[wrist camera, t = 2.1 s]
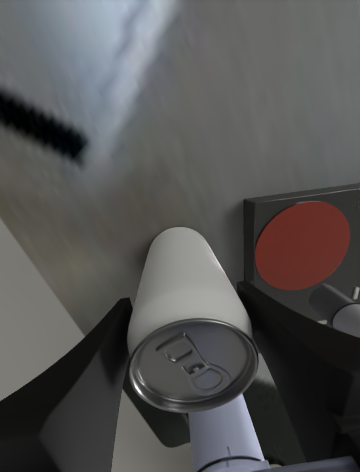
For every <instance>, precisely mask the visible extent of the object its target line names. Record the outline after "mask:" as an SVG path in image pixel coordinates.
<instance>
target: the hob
mask: <svg viewBox="0 0 360 472" xmlns="http://www.w3.org/2000/svg"><path fill="white" fill-rule="evenodd" d="M306 201H320V202H325V203H328V204H331V205H333V206H335V207H336V208H338V209H339V210H340V211H341V212H342V213H343V214H344V216H345V217H346V219H347V221H348V224H349V228H350V241H349V246H348V249H347V252H346V254H345V256H344V258H343V260H342V261H341V263H340V264H339V266H338V267H337V268H336V269H335V270H334V271H333V272H332V273H331V274H330V275H329V276H328V277H327V278H325V279H324V280H322V281H321V282H319V283H317V284H315V285H313V286H311V287H308V288H305V289H300V290H282V289H278V288H275V287H273V286H271V285H270V284H268V283H267V282H266V281H265V280H264V279H263V278H262V277H261V276H260V274H259V273H258V271H257V268H256V265H255V259H254V253H255V247H256V243H257V240H258V237H259V235H260V233H261V232H262V230H263V229H264V227H265V226H266V225H267V223H268V222H269V221H270V220H271V219H272V218H273V217H274V216H275V215H277V214H278V213H279V212H281V211H282V210H284V209H286V208H287V207H290V206H292V205H294V204H297V203H301V202H306ZM244 281H247V282H249V283H250V284H252V285H253V286H255V287H256V288H258V289H259V290H261V291H262V292H264V293H265V294H267V295H268V296H270V297H271V298H273V299H275V300H276V301H278V302H279V303H281V304H283V305H285V306H286V307H288V308H290V309H292V310H294V311H296V312H298V313H300V314H302V315H304V316H306V317H308V318H310V319H312V320H314V321H317V322H319V323H321V324H324V325H326V326H329V327H331V328H334V327H333V319H334V317H335V315H336V314H337V313H338V312H339V311H340V310H341V309H342V308H344V307H346V306H348V305H352V304H360V183H358V184H351V185H343V186H336V187H329V188H321V189H314V190H307V191H299V192H292V193H285V194H277V195H270V196H263V197H255V198H248V199H244ZM252 342H253V343H254V345H255V347H256V350H257V353H260V351H259V349H258V347H257V345H256V344H255V342H254V340H253V338H252Z"/></svg>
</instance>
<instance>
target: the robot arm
mask: <svg viewBox="0 0 360 472" xmlns="http://www.w3.org/2000/svg"><path fill="white" fill-rule="evenodd" d="M237 295H238V297H239V298H240V300H241V302H242V304H243V306H244V308H245V310H246V312H247V314H248V316H249V319H250V322H251V327H252V338H253V340H254V342H255V344H256V345H257V347H258V349H259V351H260V353H261V354H262V356H263V358H264V360H265V362H266V364H267V366H268V369H269V371H270V373H271V376H272V378H273V380H274V382H275V385H276V387H277V389H278V392H279V394H280V396H281V399H282V401H283V403H284V406H285V408H286V411H287V413H288V416H289V418H290V421H291V423H292V426H293V428H294V431H295V433H296V436H297V438H298V441H299V444H300V446H301V449H302V451H303V454H304V457H305V459H306V462H307V463H301V464H295V465H289V466H282V467H276V468H270V466H269V463H268V461H267V460H264V457H263V454H262V451H261V448H260V445H259V442H258V439H257V436H256V433H255V430H254V427H253V424H252V421H251V418H250V415H249V412H248V410H247V407H246V404H245V401H244V398H243V395H242V394H241V395H239V396H238V397H237V398H235V399H234V400H232V401H230V402H229V403H227V404H225V405H222V406H220V407H217V408H214V409H211V410H207V411H202V412H195V413H188V415H189V427H190V440H191V452H192V465H193V472H360V338H359V337H356V336H353V335H350V334H347V333H344V332H342V331H339V330H336V329H334V328H331V327H329V326H326V325H324V324H321V323H319V322H317V321H314V320H312V319H310V318H308V317H306V316H304V315H302V314H300V313H298V312H296V311H294V310H292V309H290V308H288V307H286V306H285V305H283V304H281V303H279V302H278V301H276V300H275V299H273V298H271V297H270V296H268V295H267V294H265V293H264V292H262V291H261V290H259V289H258V288H256V287H255V286H253V285H252V284H250V283H249V282H247V281H241V282H237ZM132 311H133V308H132V305H131V301H130V297H129V298H122V299H120V300H119V301H118V302H117V303H116V304H115V305H114V307H113V308H112V309H111V310H110V311H109V312H108V313H107V315H106V316H105V317H104V318H103V319H102V320H101V321H100V322H99V323H98V324H97V325H96V326H95V328H94V329H93V330H92V331H91V332H90V333H89V334H88V335H87V336H86V337H85V338H84V339H83V340H82V341H81V342H79V343H78V344H77V345H76V346H75V347H74V348H73V349H72V350H70V351H69V352H68V353H67V354H66V355H65V356H63V357H62V358H61V359H59V360H58V361H57V362H56V363H55V364H53V365H52V366H51V367H49V368H48V369H47V370H46V371H44V372H43V373H42V374H40V375H39V376H38V377H36V378H35V379H33V380H32V381H30V382H29V383H27V384H26V385H24V386H23V387H21V388H20V389H19V390H17V391H15V392H14V393H12V394H11V395H9V396H8V397H6V398H4V399H3V400H1V401H0V472H111V468H112V458H113V450H114V442H115V434H116V426H117V419H118V412H119V405H120V399H121V393H122V386H123V381H124V377H125V372H126V368H127V364H128V360H129V356H130V355H129V350H128V344H127V335H128V328H129V323H130V319H131V315H132Z"/></svg>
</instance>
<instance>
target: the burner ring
mask: <svg viewBox="0 0 360 472" xmlns="http://www.w3.org/2000/svg"><path fill="white" fill-rule="evenodd" d="M349 241H350V228H349V224H348V221H347V219H346V217H345V216H344V214H343V213H342V212H341V211H340V210H339V209H338V208H336V207H335V206H333V205H331V204H328V203H325V202H320V201H306V202H301V203H297V204H294V205H292V206H290V207H287V208H286V209H284V210H282V211H281V212H279V213H278V214H277V215H275V216H274V217H273V218H272V219H271V220H270V221H269V222H268V223H267V225H266V226H265V227H264V229H263V230H262V232H261V233H260V235H259V237H258V240H257V243H256V247H255V253H254V259H255V265H256V268H257V271H258V273H259V274H260V276H261V277H262V278H263V279H264V280H265V281H266V282H267V283H268V284H270V285H271V286H273V287H275V288H278V289H282V290H300V289H305V288H308V287H311V286H313V285H315V284H317V283H319V282H321V281H322V280H324V279H325V278H327V277H328V276H329V275H330V274H331V273H332V272H333V271H334V270H335V269H336V268H337V267H338V266H339V264H340V263H341V261H342V260H343V258H344V256H345V254H346V252H347V249H348V246H349Z"/></svg>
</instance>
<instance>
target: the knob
mask: <svg viewBox="0 0 360 472" xmlns="http://www.w3.org/2000/svg"><path fill="white" fill-rule="evenodd" d="M333 327H334V329H336V330H339V331H342V332H344V333H347V334H350V335H353V336H356V337H359V338H360V304H352V305H348V306H346V307H344V308H342V309H341V310H340V311H339V312H338V313H337V314H336V315H335V317H334V319H333Z"/></svg>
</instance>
